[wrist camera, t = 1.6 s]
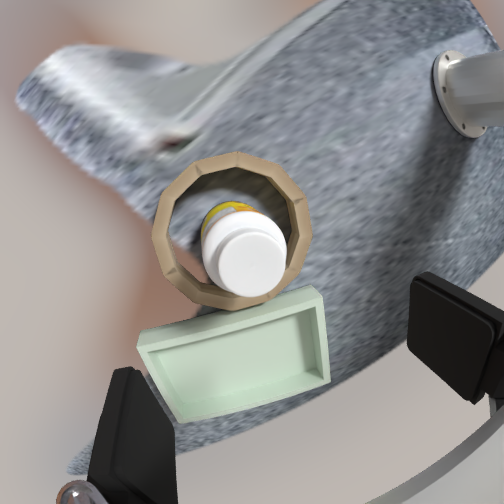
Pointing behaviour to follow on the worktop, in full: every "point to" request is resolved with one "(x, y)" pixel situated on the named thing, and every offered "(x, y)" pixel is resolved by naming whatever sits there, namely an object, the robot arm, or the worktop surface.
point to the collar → (295, 247)
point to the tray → (239, 356)
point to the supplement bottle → (242, 249)
